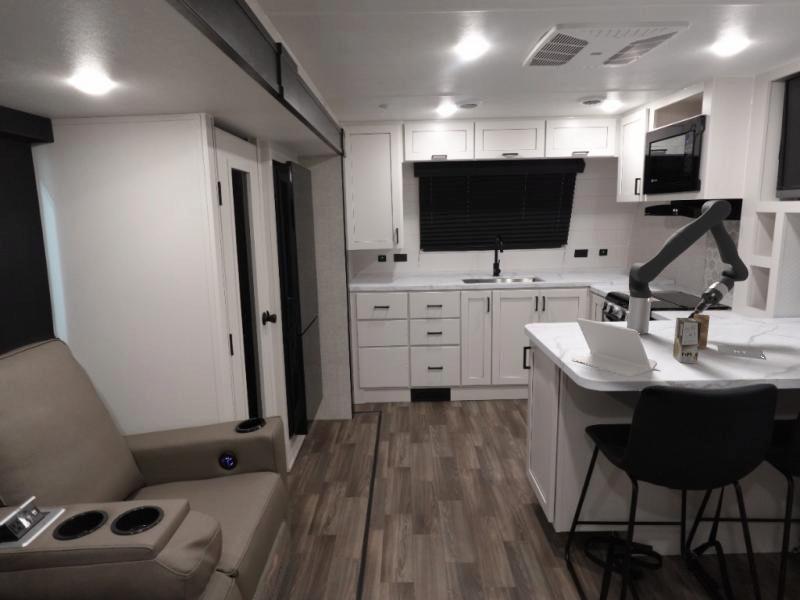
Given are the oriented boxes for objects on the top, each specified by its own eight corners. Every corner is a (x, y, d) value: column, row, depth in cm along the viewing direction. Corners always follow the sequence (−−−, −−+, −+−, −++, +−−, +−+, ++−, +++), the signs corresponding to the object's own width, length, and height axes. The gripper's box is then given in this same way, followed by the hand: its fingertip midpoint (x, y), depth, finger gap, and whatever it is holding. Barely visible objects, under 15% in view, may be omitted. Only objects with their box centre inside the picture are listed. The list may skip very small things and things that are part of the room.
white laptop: (629, 378, 181) (633, 331, 178) (570, 360, 201) (572, 318, 198) (657, 368, 191) (661, 324, 188) (598, 353, 211) (601, 312, 208)
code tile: (718, 354, 207) (718, 354, 207) (716, 345, 221) (716, 344, 221) (766, 360, 199) (767, 359, 199) (761, 350, 213) (761, 349, 213)
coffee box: (697, 363, 196) (702, 322, 193) (679, 362, 197) (683, 321, 194) (689, 357, 205) (693, 317, 202) (672, 356, 206) (675, 316, 203)
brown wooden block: (690, 348, 216) (694, 316, 214) (690, 345, 221) (694, 313, 219) (706, 350, 214) (709, 317, 211) (705, 347, 218) (709, 315, 216)
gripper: (700, 297, 240) (679, 316, 235) (714, 280, 228) (693, 300, 223) (714, 307, 237) (694, 327, 232) (730, 290, 225) (709, 311, 220)
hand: (693, 314), depth 228 cm, fingers open, 8 cm apart
